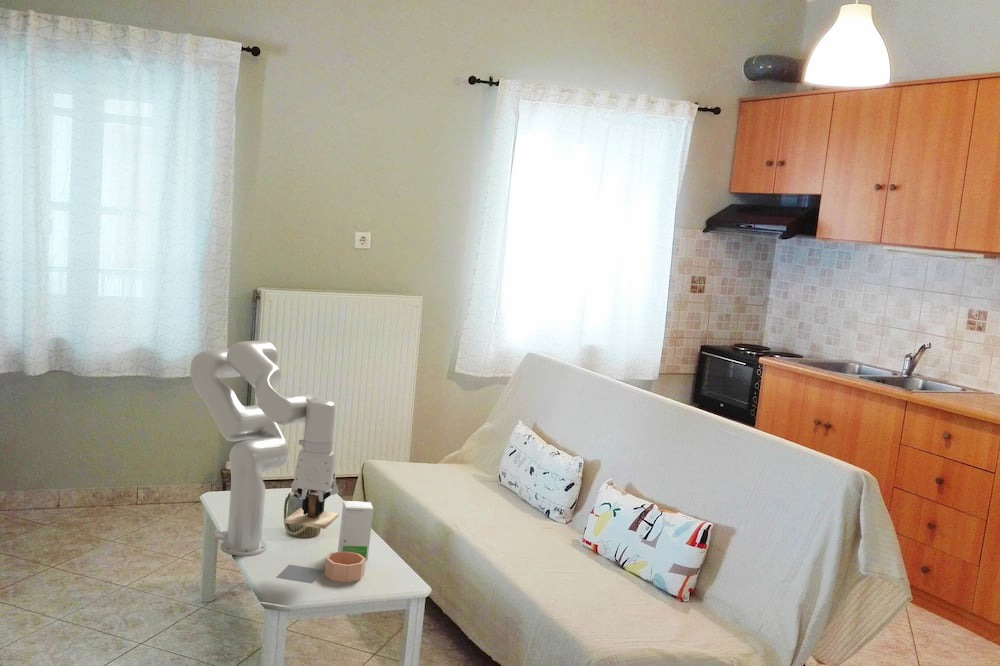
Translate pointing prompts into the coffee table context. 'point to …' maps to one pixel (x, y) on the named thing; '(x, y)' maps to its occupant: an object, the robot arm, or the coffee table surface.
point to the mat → (300, 573)
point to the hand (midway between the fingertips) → (312, 513)
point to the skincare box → (355, 527)
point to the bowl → (345, 566)
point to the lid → (312, 515)
